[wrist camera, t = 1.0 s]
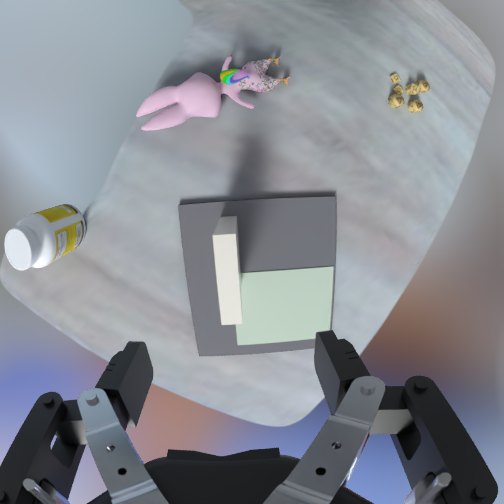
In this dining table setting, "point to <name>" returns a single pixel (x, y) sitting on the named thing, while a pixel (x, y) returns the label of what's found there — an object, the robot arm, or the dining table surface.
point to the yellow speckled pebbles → (411, 89)
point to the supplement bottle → (45, 237)
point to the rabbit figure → (206, 94)
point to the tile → (228, 270)
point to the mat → (263, 273)
